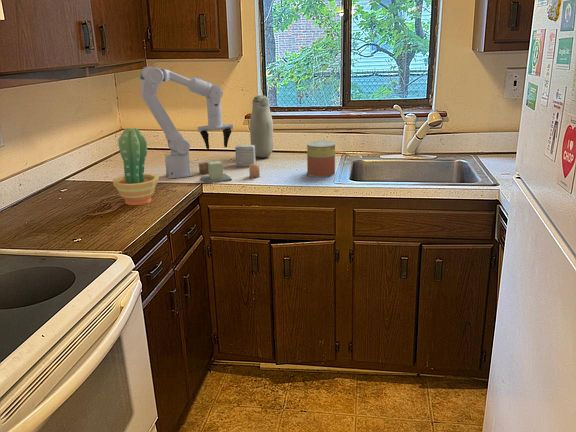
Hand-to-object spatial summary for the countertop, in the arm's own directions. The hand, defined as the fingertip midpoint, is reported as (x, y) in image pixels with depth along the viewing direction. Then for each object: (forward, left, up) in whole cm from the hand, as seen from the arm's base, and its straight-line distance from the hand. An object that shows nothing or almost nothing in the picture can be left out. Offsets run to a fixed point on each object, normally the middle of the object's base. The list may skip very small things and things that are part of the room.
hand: (216, 147), depth 221 cm
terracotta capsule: (+10, -18, -10) cm, 23 cm away
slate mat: (-5, -15, -9) cm, 18 cm away
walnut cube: (-6, -3, -10) cm, 12 cm away
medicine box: (+13, +2, -10) cm, 16 cm away
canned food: (+36, -25, -10) cm, 45 cm away
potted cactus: (-37, -31, -10) cm, 49 cm away
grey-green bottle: (+25, +14, -10) cm, 30 cm away
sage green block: (-5, -15, -9) cm, 18 cm away
